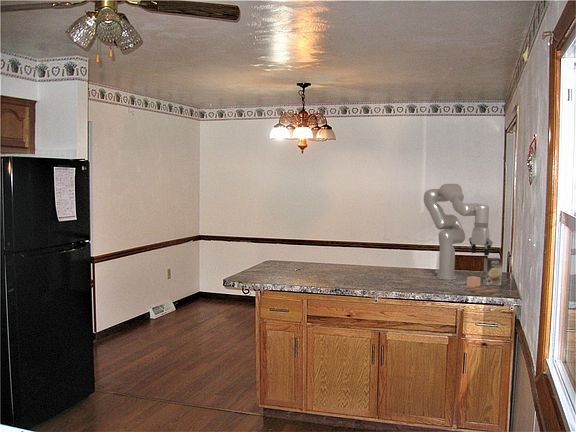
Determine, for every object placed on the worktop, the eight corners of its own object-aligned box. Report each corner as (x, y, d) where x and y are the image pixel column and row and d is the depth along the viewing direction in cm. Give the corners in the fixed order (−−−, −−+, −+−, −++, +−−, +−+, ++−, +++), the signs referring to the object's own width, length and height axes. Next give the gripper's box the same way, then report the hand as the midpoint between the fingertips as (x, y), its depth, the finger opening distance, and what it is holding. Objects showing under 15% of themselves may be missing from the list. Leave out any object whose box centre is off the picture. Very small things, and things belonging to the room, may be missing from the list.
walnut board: (464, 290, 321) (464, 288, 320) (479, 287, 329) (479, 285, 328) (485, 295, 309) (485, 293, 309) (500, 292, 317) (500, 290, 317)
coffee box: (486, 285, 335) (487, 259, 334) (482, 283, 342) (483, 257, 340) (501, 285, 336) (502, 259, 334) (497, 283, 342) (498, 257, 341)
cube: (466, 286, 334) (467, 277, 333) (472, 285, 337) (472, 276, 337) (474, 287, 329) (474, 278, 329) (480, 286, 333) (480, 277, 332)
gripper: (465, 224, 333) (464, 252, 335) (488, 227, 318) (487, 257, 320) (474, 223, 337) (473, 251, 339) (497, 226, 322) (496, 256, 324)
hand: (479, 254), depth 330 cm, fingers open, 9 cm apart
